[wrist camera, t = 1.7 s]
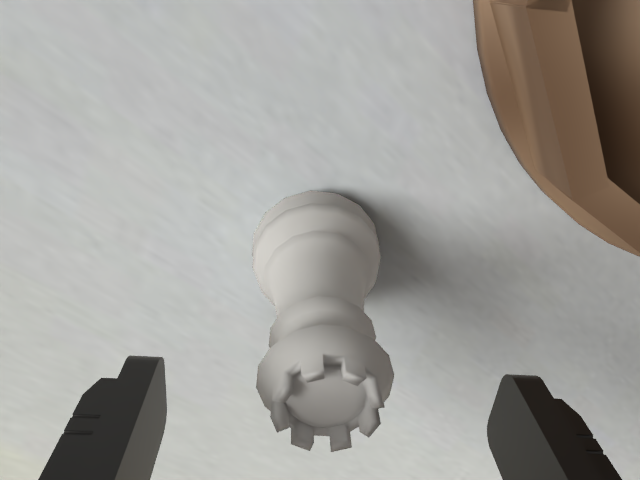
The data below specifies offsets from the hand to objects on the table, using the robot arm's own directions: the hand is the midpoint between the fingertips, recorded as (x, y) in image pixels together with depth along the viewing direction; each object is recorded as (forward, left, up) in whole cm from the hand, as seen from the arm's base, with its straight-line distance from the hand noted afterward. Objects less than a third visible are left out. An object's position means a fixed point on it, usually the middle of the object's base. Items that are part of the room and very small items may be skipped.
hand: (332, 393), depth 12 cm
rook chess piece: (0, 0, -7) cm, 7 cm away
